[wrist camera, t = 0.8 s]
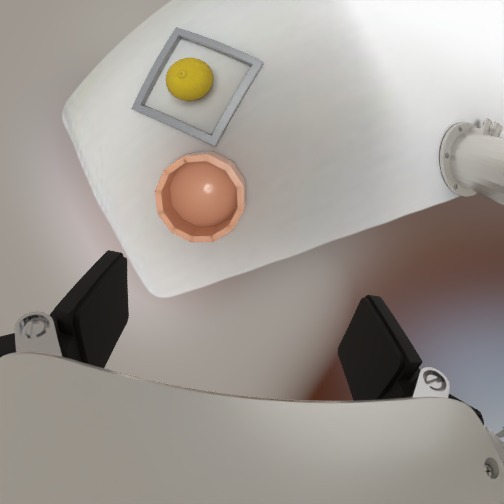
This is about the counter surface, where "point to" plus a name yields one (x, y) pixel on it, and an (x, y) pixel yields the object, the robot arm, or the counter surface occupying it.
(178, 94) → the lemon
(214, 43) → the gray square frame
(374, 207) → the counter surface
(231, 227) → the bowl
